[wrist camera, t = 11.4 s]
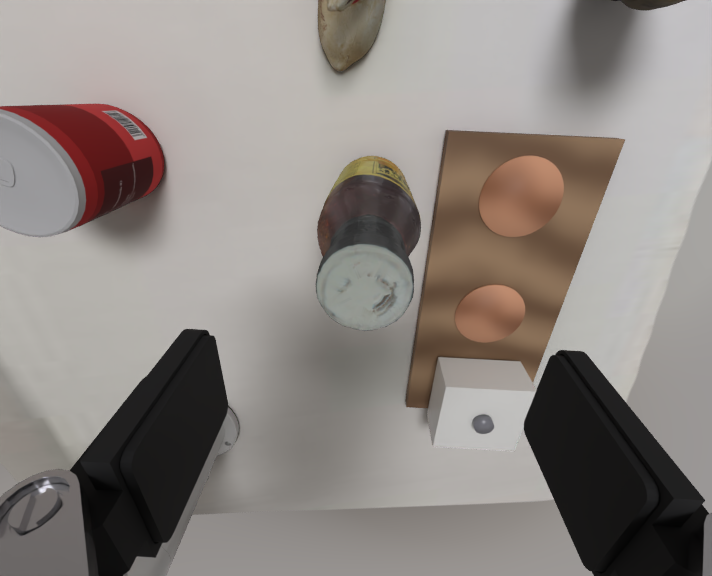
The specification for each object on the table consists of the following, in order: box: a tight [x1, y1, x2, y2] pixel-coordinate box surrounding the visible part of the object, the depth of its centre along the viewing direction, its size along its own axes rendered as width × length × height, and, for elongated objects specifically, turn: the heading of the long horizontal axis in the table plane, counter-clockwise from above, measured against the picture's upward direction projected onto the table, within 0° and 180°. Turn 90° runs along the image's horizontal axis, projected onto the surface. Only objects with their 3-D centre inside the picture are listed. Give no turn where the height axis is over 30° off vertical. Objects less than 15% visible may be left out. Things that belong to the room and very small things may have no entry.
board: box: [406, 130, 625, 408], centre depth 36 cm, size 31×14×1 cm, turn 178°
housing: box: [427, 357, 537, 451], centre depth 38 cm, size 9×9×5 cm
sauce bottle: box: [316, 156, 421, 331], centre depth 23 cm, size 7×6×20 cm
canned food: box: [0, 104, 164, 237], centre depth 26 cm, size 8×8×11 cm
